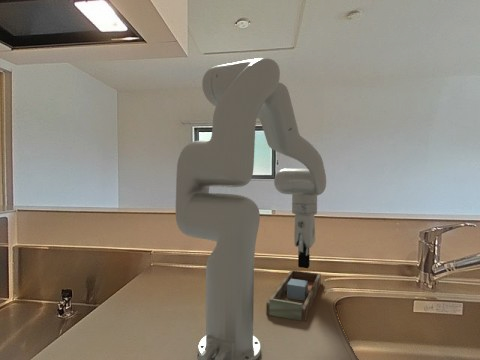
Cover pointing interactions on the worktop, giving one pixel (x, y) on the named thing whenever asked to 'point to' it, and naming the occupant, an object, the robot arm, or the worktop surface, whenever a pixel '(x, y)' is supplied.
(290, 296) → the block
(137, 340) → the worktop surface
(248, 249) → the robot arm
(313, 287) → the open box
